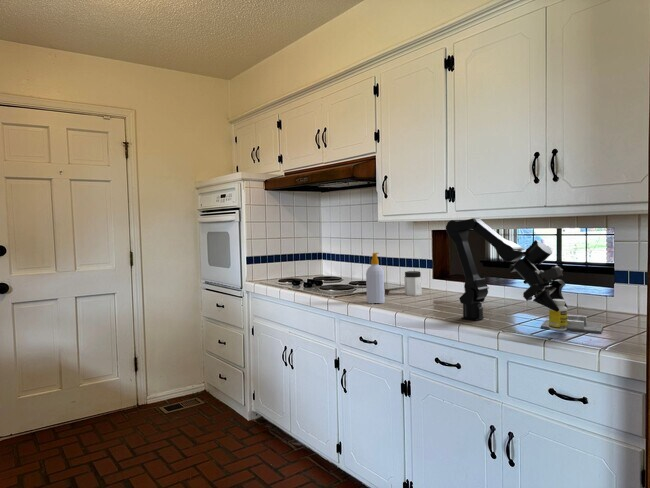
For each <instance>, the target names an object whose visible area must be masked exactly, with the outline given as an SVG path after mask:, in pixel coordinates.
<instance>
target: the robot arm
mask: <svg viewBox="0 0 650 488" xmlns="http://www.w3.org/2000/svg"><path fill="white" fill-rule="evenodd" d="M445 231H446V233H447V235H448V238H449V239H450V240H451V241H453V243H454V245H455V248H456V251H457V255H458V257H459V261H460V262H459V263H460V264H461V268H462V272H463V274H464V278H465V279H464V285H463V286H464V287H463V288H464V293H463V294H461V295H460V297H459V301H460V304H462V316H461V317H460V319H463V320H467V321H468V320H469V321H474V322H475V321H479V320H483V319H485V317H484V316H483V315H484V307H483V306H482V305H483V303H484V302H485V299H486V297H487V296H488V294H489V289H490V288H489V286H488V284H487V279H486V278H485V277H483V278H481V277H480V275H479V273H478V269H477V267H476V263H475V261H474V257H473V254H472V251H471V247H470V243H469V240H468V238H469V234H470V232H469V231H474V232H475V233H476V234H478V235H479V236H480V237H481V238H483V239H484V240H485V241H486V242H487V243H488V244H490V245H491V246H492V247H493V248H494V249H495V251H496V253H497V255H498V256H499V257H500V258H501V259H502V260H503V261H504V262H514V261H515V263H512V264H509V270H508V272H509V273H513V272H514V273H515V272H517V273H518V275H519V276H520V277H522V279H523V281H522V282H523V284H525V285H526V284H527V285H528V286H529V287H528V288H527V289H526V290H525V291H523V293H522V294H523V295H522V297H523V298H524V299H525V300H526V302H529V301H532V302H535V303H537V304H540V305H541V306H544V307H546V308H548V309H549V308H550V309H552V310H554V311H556V312H558V311H559V308H558V307H557V305H556V304H555V302H554V301H553V300H552V299H563V300H565V298H564V297H563V294H562V291H563V290H562V289H563V288H564V287H565V286H566V283H565V281H564V280H563V279H556V278H559V277H560V278H562V277H563V276H564V274H563V273H564V269H563V268H562V267H561V266H558V265H554V266H551V267H550V269H547V270H542V269H540V270H539V269H538V268H537V266H536V265H538V266H540V265H541V264H543V262H545V261H546V260H547V259H548V258H549V257H550V256H551V255H552V254H553V250H552V249H551V248H550V246H549V245H546V244H545V243H543V242H542V241H540V240H539V239H535V240H534V241H533V242H532V243H531V244H530V245H529V246H528V247H527V249H526V248H523V247H522V246H521V245H520V244H517V243H515V242H514V241H511V240H508V239H506V238H504V237H503V236H502V235H500V234H499V233H497V232H496V231H495V230H494V229H493V228H491V227H490V226H489V225H488V224H486V223H485V222H484V221H483V220H482V219H480V217H478V218H477V217H474V218H473V217H472V218H470V219H464V220H463V219H459V220H458V219H451V220H449V221H448V222H447V223H446V225H445ZM554 279H555V280H554ZM533 297H534V299H533ZM564 306H565V307H567V309H568V308H569V307H568V304H567V303H566V302H565V305H564Z"/></svg>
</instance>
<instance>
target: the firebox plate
mask: <svg viewBox="0 0 650 488" xmlns="http://www.w3.org/2000/svg"><path fill="white" fill-rule="evenodd" d="M603 328H604V323H593V322H588V321H587V316H586V315H578V314H577V315H575V314H567V330H564V331H566V332H567V331H568V332H576V333H577V332H579V333H590V334H598V335H600V334H602V331H603ZM540 329H545V330H546V329H547V330H551V329H550V328H549V319H545V320H544V321H543V322H542V324H541V325H540Z"/></svg>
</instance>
